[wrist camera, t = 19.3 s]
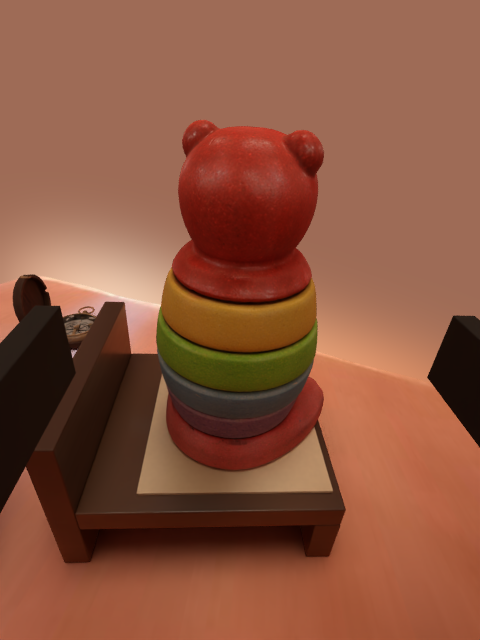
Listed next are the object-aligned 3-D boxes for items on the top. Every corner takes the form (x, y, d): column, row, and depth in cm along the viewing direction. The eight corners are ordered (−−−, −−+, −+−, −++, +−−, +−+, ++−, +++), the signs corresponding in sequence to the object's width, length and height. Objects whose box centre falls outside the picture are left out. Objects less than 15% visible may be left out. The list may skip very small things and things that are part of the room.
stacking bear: (328, 395, 27) (394, 129, 18) (280, 509, 19) (352, 140, 10) (206, 351, 31) (207, 115, 22) (124, 431, 23) (72, 114, 14)
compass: (99, 350, 39) (87, 290, 35) (22, 350, 38) (2, 289, 34) (115, 313, 46) (107, 259, 42) (50, 312, 45) (36, 258, 41)
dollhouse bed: (291, 397, 34) (306, 306, 29) (329, 556, 22) (368, 449, 17) (120, 396, 33) (105, 301, 28) (64, 563, 21) (18, 450, 16)
